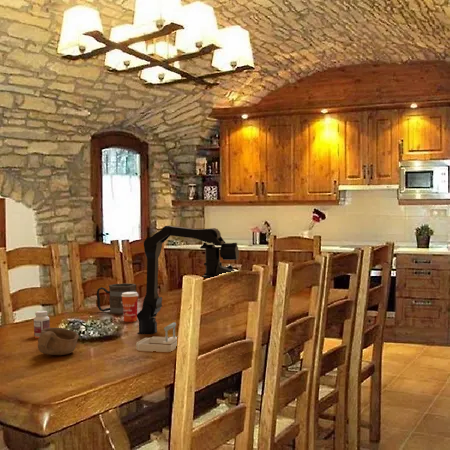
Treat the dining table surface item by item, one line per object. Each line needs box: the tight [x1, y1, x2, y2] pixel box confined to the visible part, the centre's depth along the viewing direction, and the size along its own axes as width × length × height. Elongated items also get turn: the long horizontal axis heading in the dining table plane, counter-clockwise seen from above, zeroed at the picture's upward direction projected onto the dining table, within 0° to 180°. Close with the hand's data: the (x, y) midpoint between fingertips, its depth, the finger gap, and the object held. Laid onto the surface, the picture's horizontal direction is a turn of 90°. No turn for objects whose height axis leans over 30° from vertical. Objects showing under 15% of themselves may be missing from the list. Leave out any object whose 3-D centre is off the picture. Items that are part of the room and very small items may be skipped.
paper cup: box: [121, 291, 139, 323], centre depth 294 cm, size 8×8×14 cm
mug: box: [96, 282, 137, 316], centre depth 317 cm, size 20×14×15 cm
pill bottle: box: [33, 310, 51, 339], centre depth 264 cm, size 6×6×11 cm
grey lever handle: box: [162, 322, 178, 345], centre depth 241 cm, size 3×10×6 cm, turn 166°
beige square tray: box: [135, 336, 177, 353], centre depth 242 cm, size 14×14×3 cm
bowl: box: [37, 327, 80, 356], centre depth 232 cm, size 18×14×10 cm
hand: (213, 298), depth 261 cm, fingers open, 9 cm apart
